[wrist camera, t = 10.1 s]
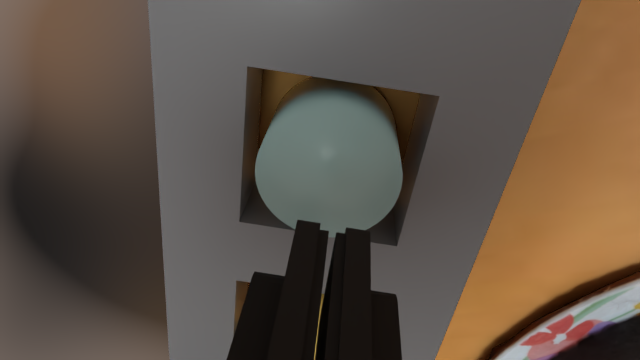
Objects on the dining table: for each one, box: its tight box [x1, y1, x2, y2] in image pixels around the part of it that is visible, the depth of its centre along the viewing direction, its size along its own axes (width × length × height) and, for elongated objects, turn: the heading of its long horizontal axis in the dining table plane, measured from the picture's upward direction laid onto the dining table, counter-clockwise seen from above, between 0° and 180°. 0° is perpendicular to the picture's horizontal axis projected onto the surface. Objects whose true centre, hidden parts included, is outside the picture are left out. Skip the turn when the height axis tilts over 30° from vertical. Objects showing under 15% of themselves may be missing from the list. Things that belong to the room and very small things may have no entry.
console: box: [148, 0, 581, 360], centre depth 17 cm, size 12×30×3 cm, turn 172°
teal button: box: [255, 77, 403, 237], centre depth 16 cm, size 5×5×3 cm
